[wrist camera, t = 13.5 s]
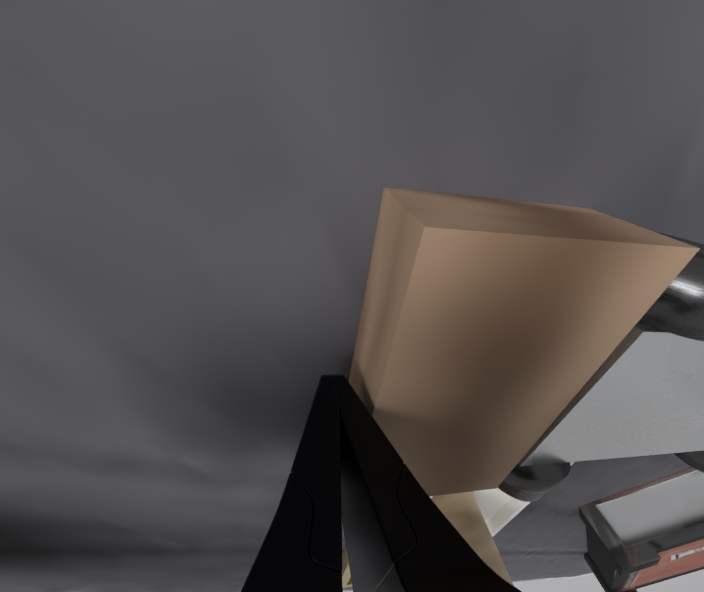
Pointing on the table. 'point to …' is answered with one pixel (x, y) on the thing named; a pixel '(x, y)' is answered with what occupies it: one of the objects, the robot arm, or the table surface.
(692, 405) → the trolley
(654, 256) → the bar
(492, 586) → the robot arm
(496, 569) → the pin
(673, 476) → the book
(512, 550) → the table surface
